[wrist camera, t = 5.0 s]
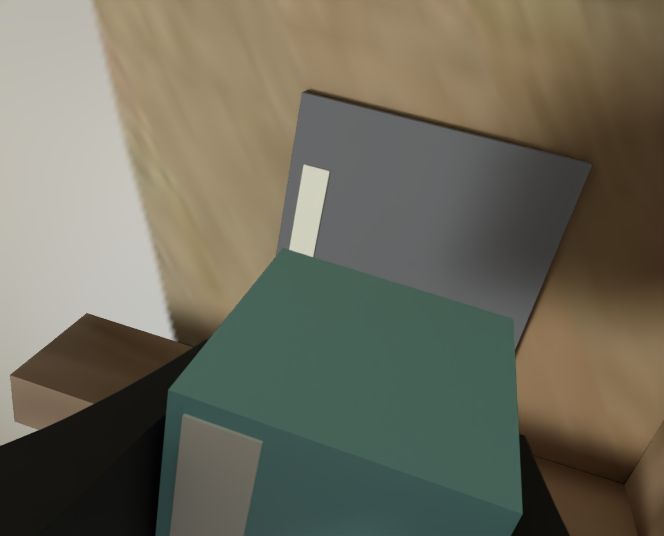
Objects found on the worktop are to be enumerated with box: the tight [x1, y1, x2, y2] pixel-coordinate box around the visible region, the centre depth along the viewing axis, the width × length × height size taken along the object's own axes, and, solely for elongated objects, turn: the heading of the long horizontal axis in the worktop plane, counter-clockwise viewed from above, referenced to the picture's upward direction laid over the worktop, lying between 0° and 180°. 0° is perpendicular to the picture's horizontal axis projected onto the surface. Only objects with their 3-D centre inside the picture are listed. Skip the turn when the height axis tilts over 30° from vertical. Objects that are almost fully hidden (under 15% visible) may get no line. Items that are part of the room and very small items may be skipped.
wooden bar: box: [10, 313, 638, 536], centre depth 19 cm, size 2×22×4 cm, turn 79°
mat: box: [276, 91, 592, 349], centre depth 18 cm, size 8×8×1 cm
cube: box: [155, 248, 523, 536], centre depth 10 cm, size 5×5×5 cm
